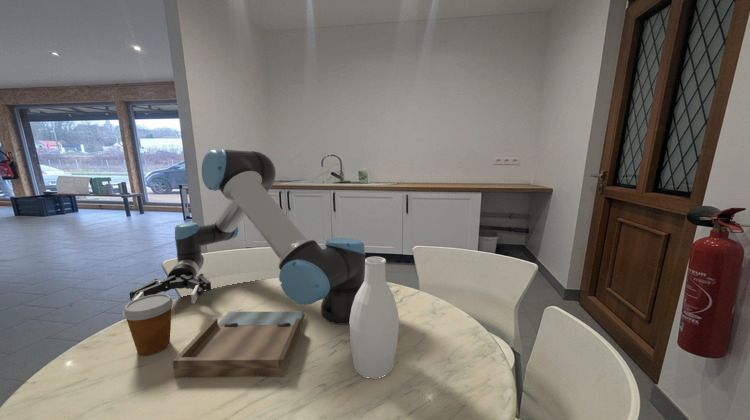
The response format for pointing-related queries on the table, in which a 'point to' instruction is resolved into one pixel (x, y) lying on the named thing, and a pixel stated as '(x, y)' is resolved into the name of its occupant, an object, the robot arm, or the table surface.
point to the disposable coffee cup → (150, 322)
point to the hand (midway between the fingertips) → (163, 303)
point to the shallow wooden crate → (242, 346)
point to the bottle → (374, 323)
